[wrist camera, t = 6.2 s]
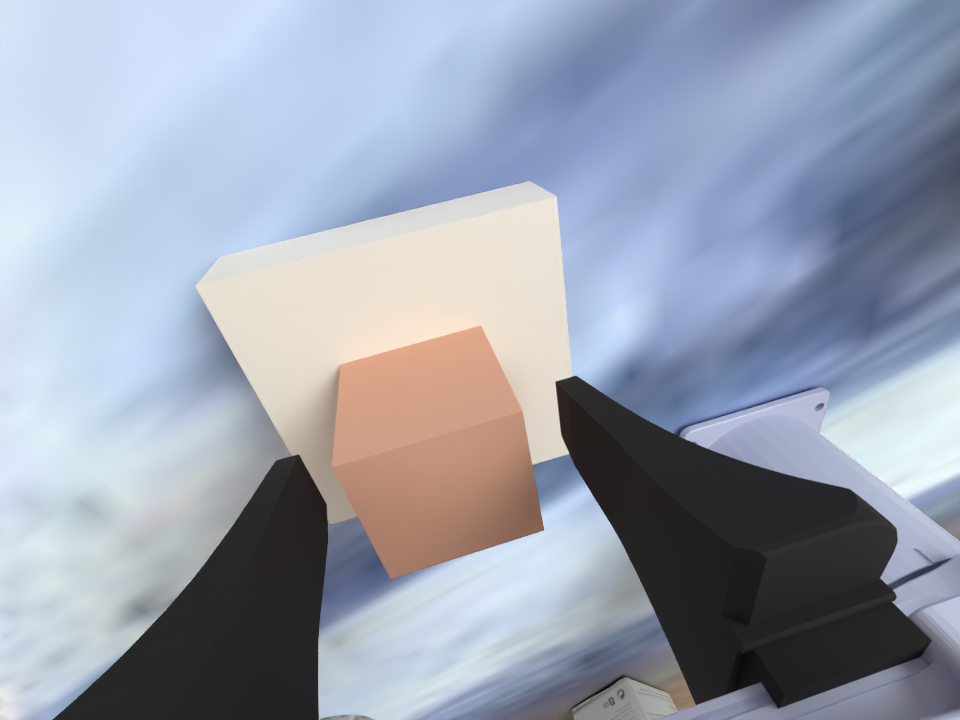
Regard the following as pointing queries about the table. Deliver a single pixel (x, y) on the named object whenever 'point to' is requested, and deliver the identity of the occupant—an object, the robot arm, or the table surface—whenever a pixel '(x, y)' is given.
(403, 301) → the pedestal
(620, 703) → the skincare box
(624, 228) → the table surface
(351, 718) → the mug
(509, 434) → the cube
